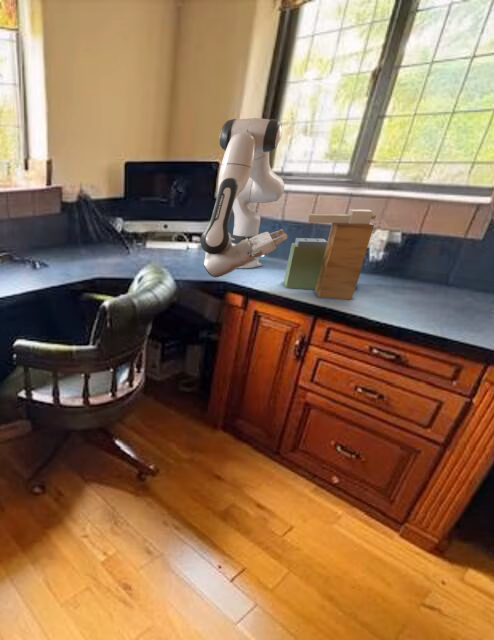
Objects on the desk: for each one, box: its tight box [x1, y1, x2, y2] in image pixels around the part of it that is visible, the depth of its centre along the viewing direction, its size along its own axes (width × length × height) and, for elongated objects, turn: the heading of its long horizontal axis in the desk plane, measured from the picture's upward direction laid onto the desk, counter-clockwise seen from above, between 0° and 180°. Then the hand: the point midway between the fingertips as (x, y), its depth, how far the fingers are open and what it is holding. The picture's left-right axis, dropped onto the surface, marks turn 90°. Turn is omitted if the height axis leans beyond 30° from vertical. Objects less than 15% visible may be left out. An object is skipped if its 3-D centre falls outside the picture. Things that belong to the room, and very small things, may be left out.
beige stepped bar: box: [306, 208, 377, 224], centre depth 146 cm, size 5×21×4 cm, turn 74°
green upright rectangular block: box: [283, 237, 328, 290], centre depth 166 cm, size 8×12×18 cm, turn 74°
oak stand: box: [314, 222, 375, 300], centre depth 152 cm, size 8×11×26 cm
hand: (285, 233), depth 153 cm, fingers open, 8 cm apart
